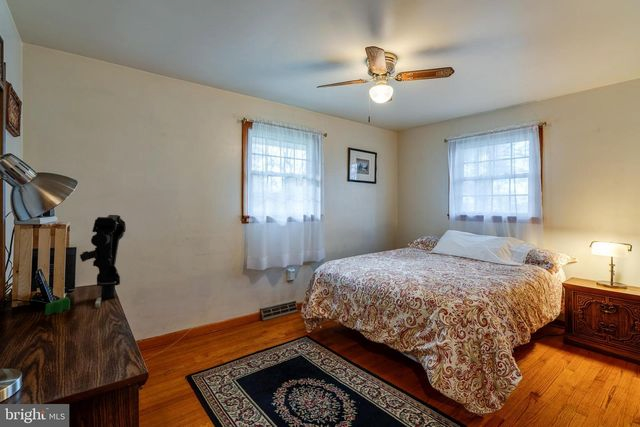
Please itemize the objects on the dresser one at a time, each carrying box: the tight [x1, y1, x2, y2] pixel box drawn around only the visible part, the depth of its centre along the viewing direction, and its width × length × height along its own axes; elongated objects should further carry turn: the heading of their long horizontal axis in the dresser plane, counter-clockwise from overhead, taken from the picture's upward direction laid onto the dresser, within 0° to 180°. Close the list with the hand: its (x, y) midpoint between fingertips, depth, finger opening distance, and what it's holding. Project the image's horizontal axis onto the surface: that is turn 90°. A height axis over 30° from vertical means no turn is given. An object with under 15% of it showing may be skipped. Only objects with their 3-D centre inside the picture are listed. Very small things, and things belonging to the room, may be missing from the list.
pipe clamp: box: [44, 296, 71, 316], centre depth 127 cm, size 11×4×5 cm, turn 6°
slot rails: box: [54, 296, 102, 309], centre depth 134 cm, size 12×18×2 cm
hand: (102, 278), depth 137 cm, fingers closed
